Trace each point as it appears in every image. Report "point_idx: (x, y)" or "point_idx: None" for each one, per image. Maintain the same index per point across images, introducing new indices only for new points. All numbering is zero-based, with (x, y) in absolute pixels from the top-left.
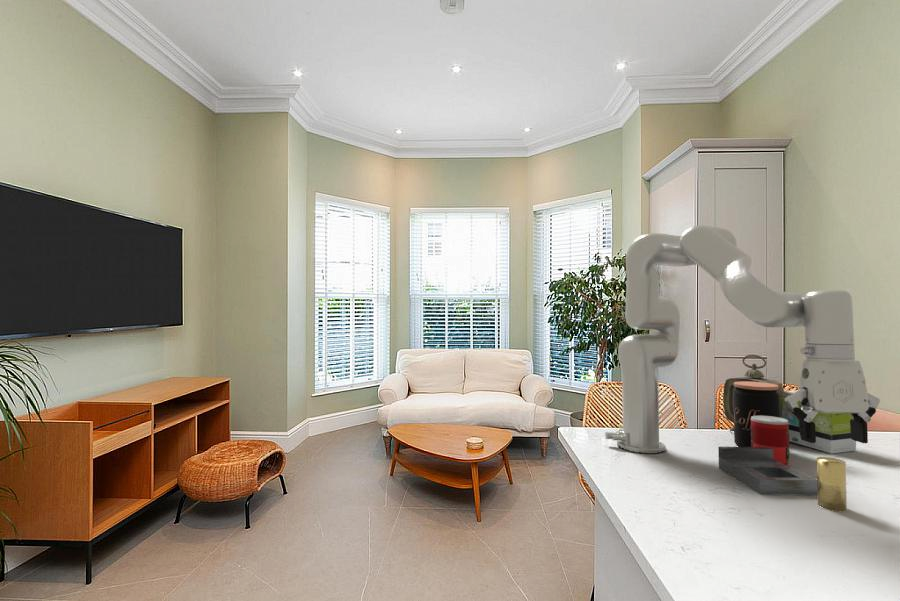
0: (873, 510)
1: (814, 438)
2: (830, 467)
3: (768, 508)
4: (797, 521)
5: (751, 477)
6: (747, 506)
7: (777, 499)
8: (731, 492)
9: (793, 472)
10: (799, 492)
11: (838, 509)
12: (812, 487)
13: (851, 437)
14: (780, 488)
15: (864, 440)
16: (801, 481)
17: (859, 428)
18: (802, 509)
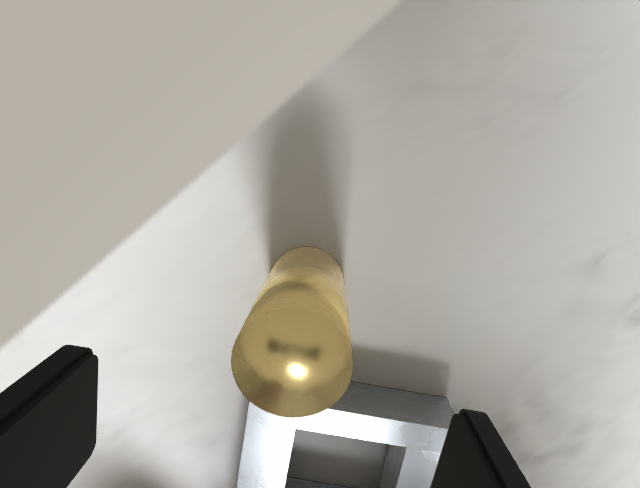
0: (197, 240)
1: (482, 431)
2: (337, 318)
3: (523, 300)
4: (525, 202)
5: None
6: (576, 323)
7: (427, 356)
8: (524, 423)
9: (270, 473)
10: None
11: (319, 251)
12: None
13: (87, 455)
14: (384, 399)
15: (78, 359)
16: None
17: (14, 461)
18: (420, 279)
